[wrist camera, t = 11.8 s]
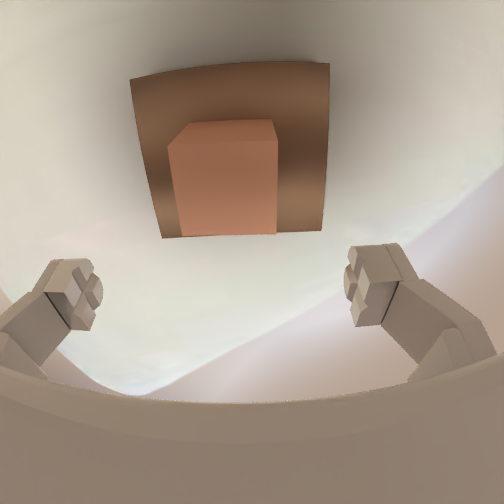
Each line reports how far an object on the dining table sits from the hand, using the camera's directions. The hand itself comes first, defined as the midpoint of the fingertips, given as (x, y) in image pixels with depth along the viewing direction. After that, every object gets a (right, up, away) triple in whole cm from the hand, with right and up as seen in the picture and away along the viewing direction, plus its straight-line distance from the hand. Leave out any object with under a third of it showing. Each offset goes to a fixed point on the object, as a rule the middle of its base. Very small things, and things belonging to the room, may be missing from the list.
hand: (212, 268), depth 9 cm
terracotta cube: (0, +6, +9) cm, 11 cm away
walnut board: (0, +9, +12) cm, 15 cm away
